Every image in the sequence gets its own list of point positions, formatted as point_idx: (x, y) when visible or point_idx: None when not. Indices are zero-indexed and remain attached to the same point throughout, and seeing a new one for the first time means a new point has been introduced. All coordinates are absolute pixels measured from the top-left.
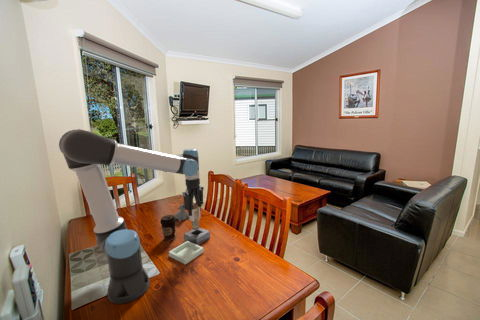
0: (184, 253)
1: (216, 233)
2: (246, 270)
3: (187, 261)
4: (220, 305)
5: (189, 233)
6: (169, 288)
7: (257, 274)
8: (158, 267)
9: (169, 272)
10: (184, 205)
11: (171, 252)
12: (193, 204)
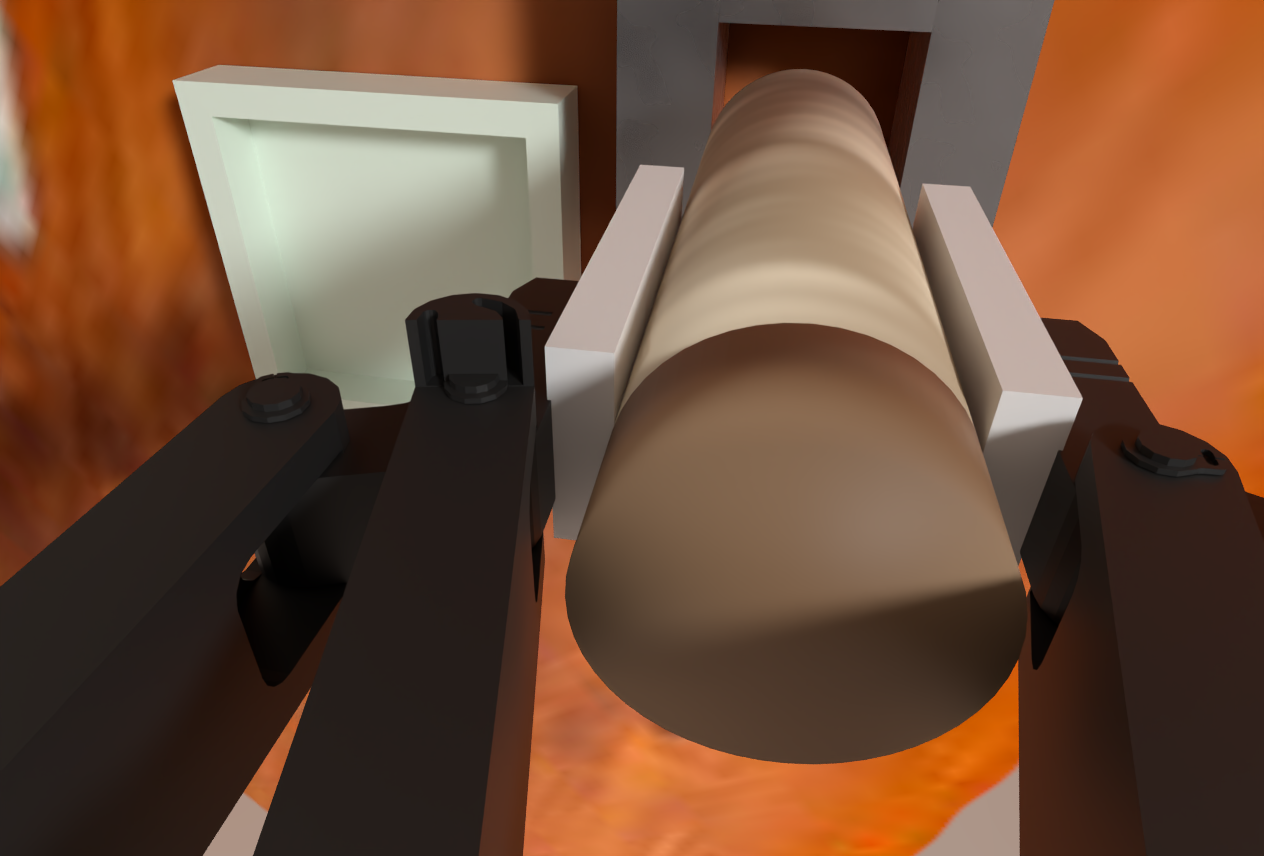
0: (386, 242)
1: (1131, 285)
2: (596, 798)
3: None
4: (268, 766)
5: (700, 11)
6: (58, 464)
7: (604, 851)
8: (34, 142)
9: (117, 323)
10: (82, 518)
11: (199, 136)
12: (722, 618)
